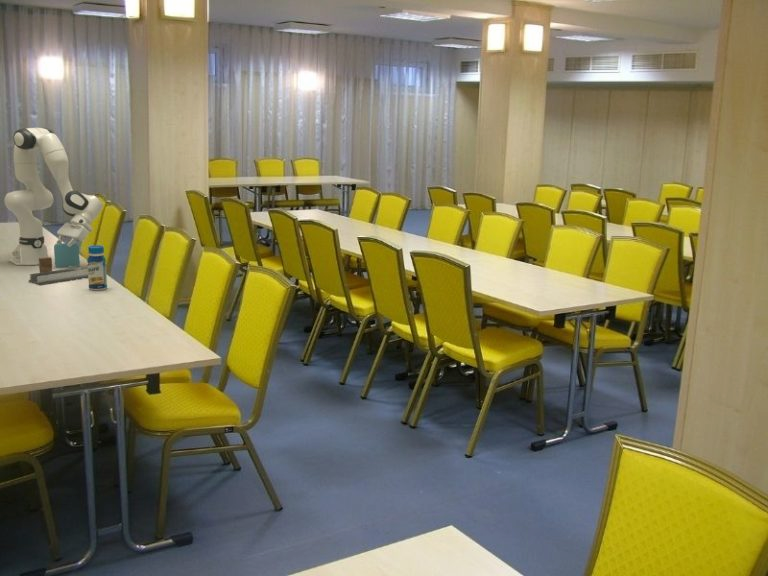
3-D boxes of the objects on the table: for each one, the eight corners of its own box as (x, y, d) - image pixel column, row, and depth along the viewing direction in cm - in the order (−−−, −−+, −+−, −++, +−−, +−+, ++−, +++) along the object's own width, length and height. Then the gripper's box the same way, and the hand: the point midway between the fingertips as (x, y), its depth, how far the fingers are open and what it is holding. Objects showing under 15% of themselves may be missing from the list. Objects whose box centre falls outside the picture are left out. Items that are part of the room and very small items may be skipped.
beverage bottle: (111, 288, 388) (109, 246, 384) (97, 291, 381) (95, 248, 376) (98, 286, 392) (96, 244, 388) (84, 289, 385) (82, 246, 380)
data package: (79, 265, 440) (78, 242, 438) (79, 266, 436) (78, 244, 434) (55, 266, 436) (53, 243, 433) (55, 267, 431) (54, 245, 429)
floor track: (28, 281, 397) (28, 273, 396) (78, 274, 417) (78, 266, 416) (40, 285, 390) (39, 277, 389) (90, 277, 410) (90, 269, 409)
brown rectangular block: (39, 276, 410) (38, 258, 409) (49, 274, 414) (48, 256, 412) (43, 276, 409) (41, 259, 407) (52, 275, 412) (51, 257, 410)
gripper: (64, 217, 425) (47, 238, 420) (86, 221, 413) (69, 243, 407) (73, 225, 430) (56, 246, 424) (94, 229, 417) (78, 251, 412)
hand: (63, 244), depth 416 cm, fingers open, 8 cm apart
